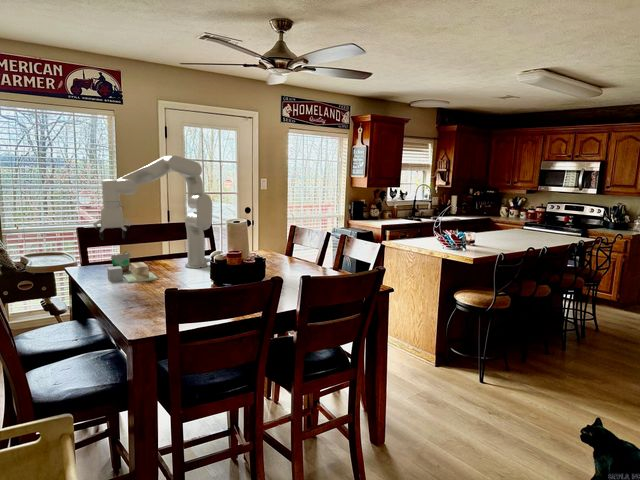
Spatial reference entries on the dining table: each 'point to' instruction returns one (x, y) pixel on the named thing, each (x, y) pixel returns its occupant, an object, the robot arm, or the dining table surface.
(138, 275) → the beech block
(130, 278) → the baseplate
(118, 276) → the grey cube
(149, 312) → the dining table surface
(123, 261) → the food container
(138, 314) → the dining table surface
